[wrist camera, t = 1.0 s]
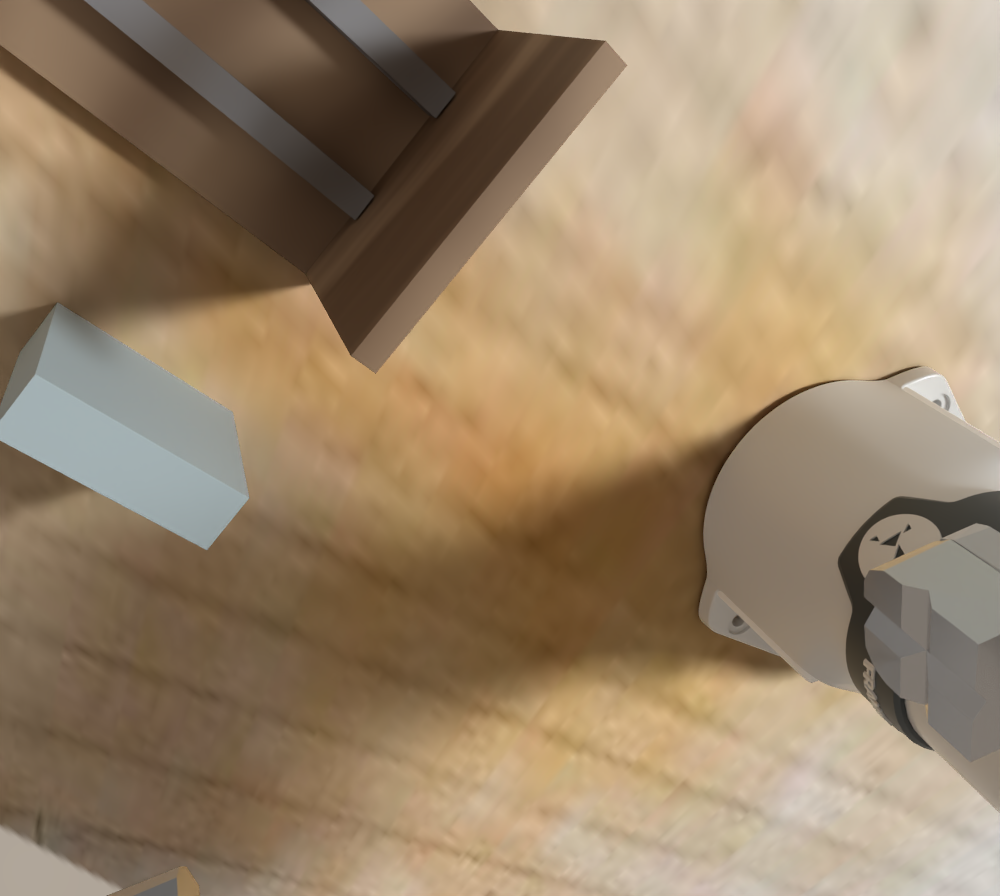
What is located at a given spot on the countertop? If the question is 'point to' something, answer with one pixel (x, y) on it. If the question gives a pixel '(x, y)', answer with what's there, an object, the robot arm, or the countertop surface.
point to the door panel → (124, 428)
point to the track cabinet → (330, 126)
